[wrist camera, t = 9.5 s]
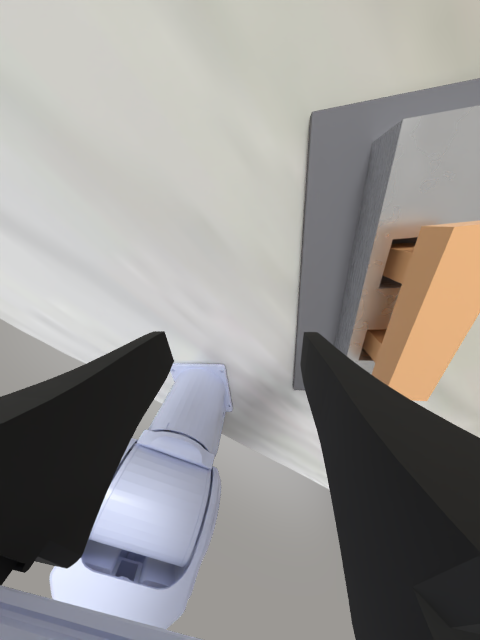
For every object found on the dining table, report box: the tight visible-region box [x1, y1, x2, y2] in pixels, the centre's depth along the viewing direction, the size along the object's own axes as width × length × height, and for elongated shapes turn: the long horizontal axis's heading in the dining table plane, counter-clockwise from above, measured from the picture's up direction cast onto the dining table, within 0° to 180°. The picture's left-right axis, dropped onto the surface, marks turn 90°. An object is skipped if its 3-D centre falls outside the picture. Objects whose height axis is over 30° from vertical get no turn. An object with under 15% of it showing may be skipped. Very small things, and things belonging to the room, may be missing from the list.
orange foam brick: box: [362, 221, 480, 401], centre depth 14 cm, size 12×3×6 cm, turn 6°
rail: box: [334, 105, 480, 374], centre depth 15 cm, size 22×6×3 cm, turn 6°
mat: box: [293, 78, 480, 390], centre depth 17 cm, size 26×14×1 cm, turn 6°
